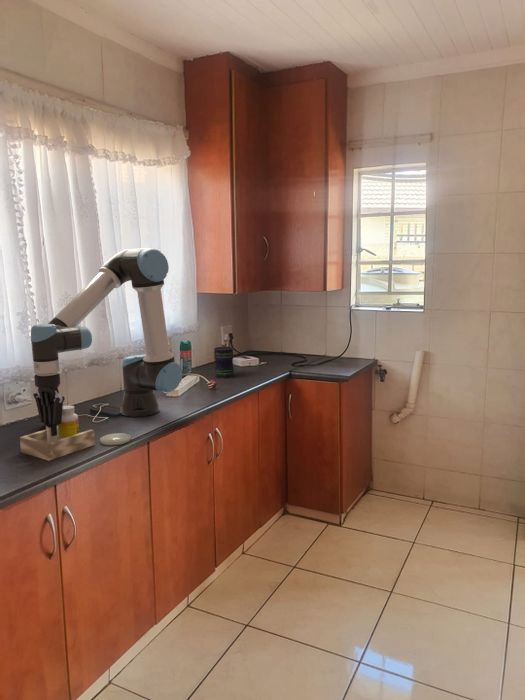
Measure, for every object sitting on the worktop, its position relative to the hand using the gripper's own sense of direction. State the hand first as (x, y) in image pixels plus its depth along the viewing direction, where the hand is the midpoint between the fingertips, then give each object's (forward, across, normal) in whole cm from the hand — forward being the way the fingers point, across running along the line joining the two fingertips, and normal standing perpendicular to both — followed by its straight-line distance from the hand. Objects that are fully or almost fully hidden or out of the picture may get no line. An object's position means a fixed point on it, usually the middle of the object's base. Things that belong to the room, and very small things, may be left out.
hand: (52, 444), depth 179 cm
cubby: (+2, 0, +2) cm, 3 cm away
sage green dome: (+2, +10, +17) cm, 20 cm away
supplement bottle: (+2, 0, +6) cm, 7 cm away
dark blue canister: (+2, -22, +118) cm, 120 cm away
